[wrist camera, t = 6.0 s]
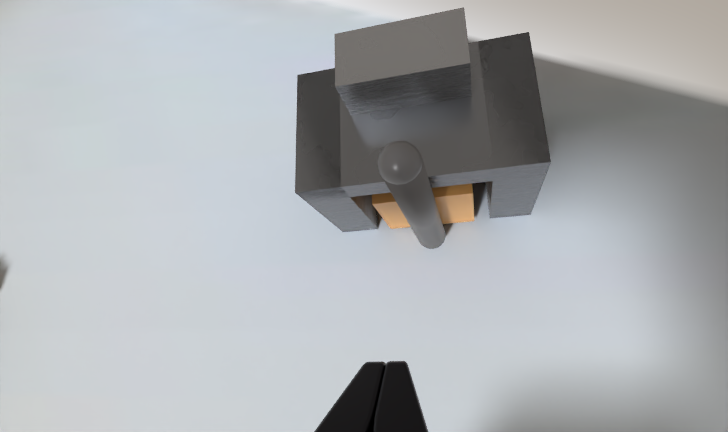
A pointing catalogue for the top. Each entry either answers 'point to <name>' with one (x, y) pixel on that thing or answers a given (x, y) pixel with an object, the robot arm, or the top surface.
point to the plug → (418, 196)
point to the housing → (421, 117)
